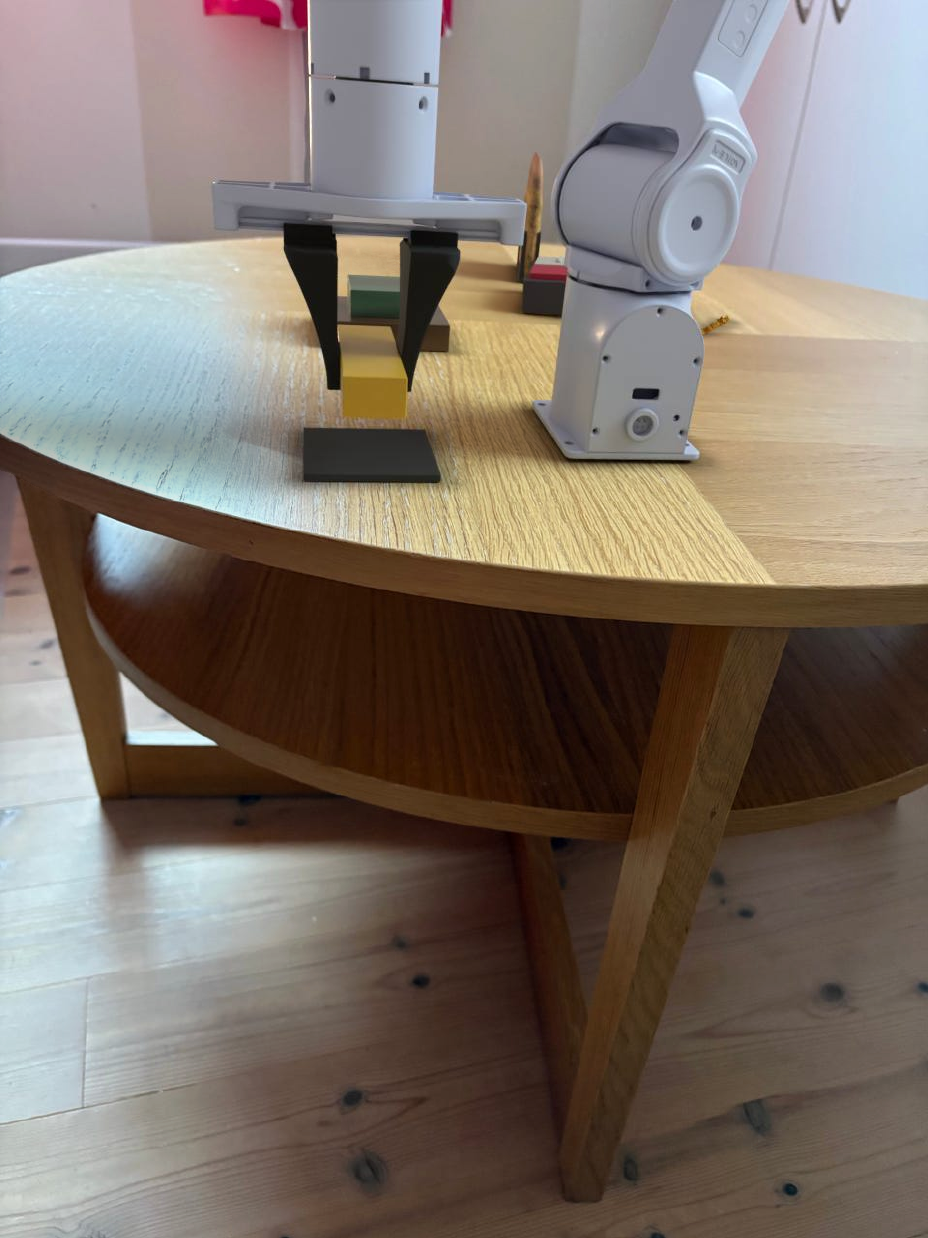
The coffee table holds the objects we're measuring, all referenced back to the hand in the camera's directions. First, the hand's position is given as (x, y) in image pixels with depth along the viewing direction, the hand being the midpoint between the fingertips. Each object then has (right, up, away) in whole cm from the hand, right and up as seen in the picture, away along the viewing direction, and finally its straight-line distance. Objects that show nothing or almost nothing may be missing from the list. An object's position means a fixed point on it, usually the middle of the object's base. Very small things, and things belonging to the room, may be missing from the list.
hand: (369, 385), depth 46 cm
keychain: (+28, +15, +36) cm, 48 cm away
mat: (0, -3, +2) cm, 4 cm away
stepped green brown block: (-1, +11, +25) cm, 27 cm away
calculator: (+18, +18, +40) cm, 47 cm away
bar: (0, 0, 0) cm, 0 cm away
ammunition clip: (+12, +26, +54) cm, 61 cm away
